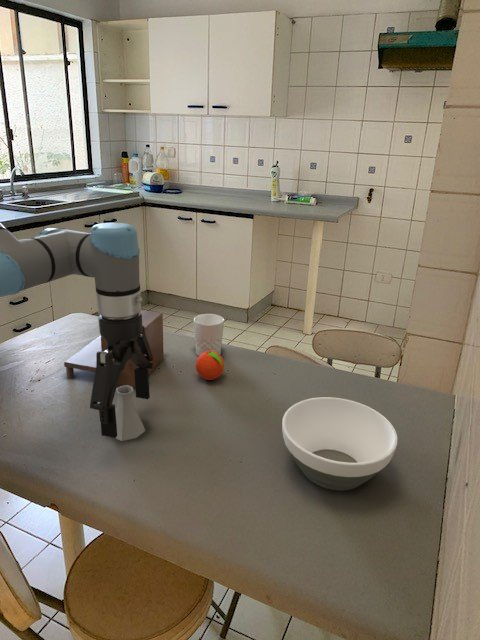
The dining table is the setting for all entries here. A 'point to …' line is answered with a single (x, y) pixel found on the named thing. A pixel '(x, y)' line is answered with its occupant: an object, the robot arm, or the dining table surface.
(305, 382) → the dining table surface
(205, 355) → the clementine
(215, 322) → the white cup
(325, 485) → the bowl
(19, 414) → the dining table surface
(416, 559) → the dining table surface
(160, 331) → the shelf
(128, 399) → the flask
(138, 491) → the dining table surface
